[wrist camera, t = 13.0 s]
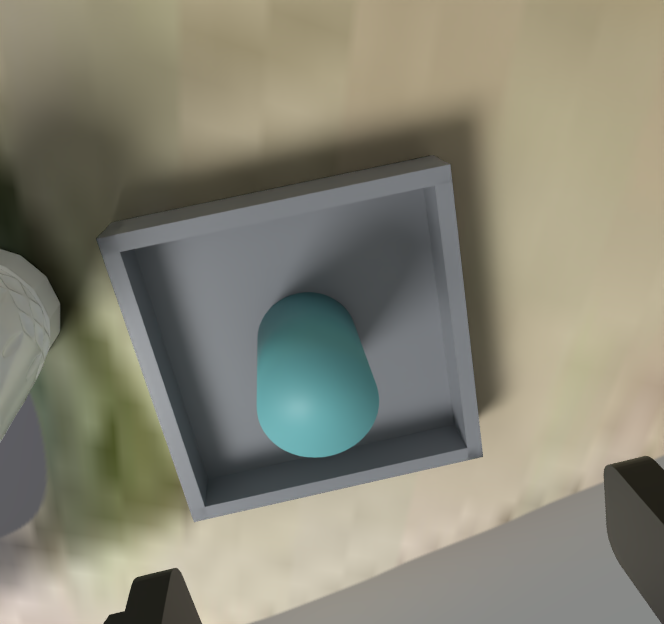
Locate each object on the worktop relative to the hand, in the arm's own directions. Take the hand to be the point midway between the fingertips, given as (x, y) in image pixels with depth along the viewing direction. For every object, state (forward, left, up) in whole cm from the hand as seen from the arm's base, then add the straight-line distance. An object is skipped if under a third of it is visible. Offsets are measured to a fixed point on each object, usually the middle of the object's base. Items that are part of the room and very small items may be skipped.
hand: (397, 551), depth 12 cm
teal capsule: (+1, +5, -21) cm, 22 cm away
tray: (+1, +5, -22) cm, 22 cm away
